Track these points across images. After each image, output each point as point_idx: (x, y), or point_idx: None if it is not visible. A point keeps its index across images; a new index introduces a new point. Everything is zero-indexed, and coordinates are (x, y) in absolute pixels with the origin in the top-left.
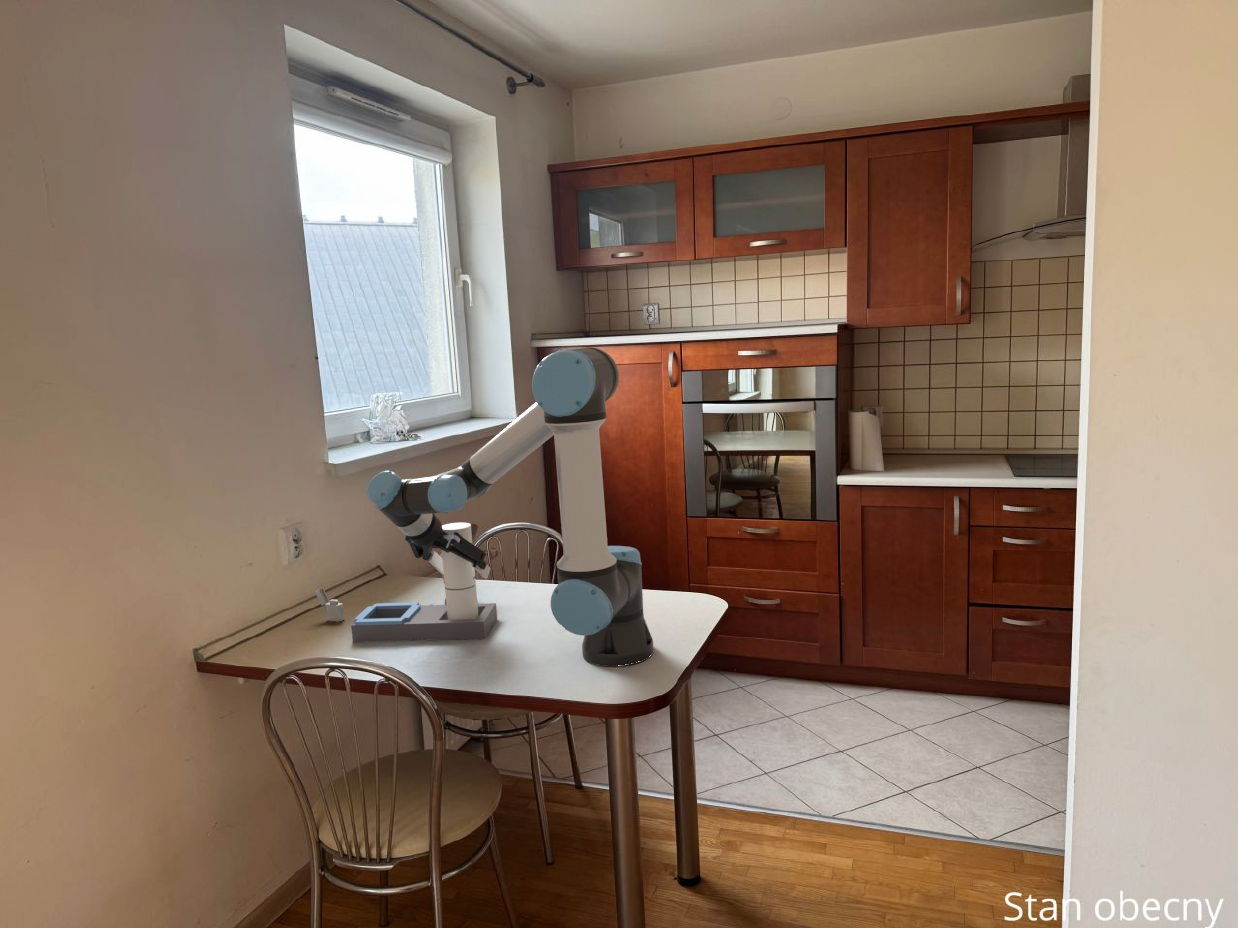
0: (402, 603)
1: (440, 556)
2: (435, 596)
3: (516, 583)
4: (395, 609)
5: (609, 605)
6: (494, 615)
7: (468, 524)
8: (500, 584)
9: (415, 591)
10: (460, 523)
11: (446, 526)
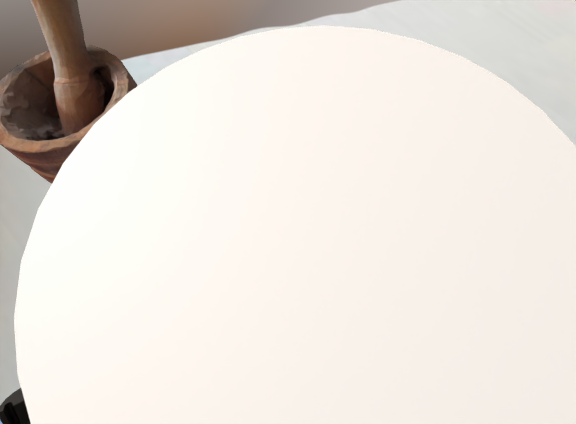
0: None
1: (6, 142)
2: (44, 189)
3: (200, 45)
4: None
5: None
6: None
7: (436, 73)
8: (166, 63)
9: None
10: (258, 78)
11: (152, 315)
